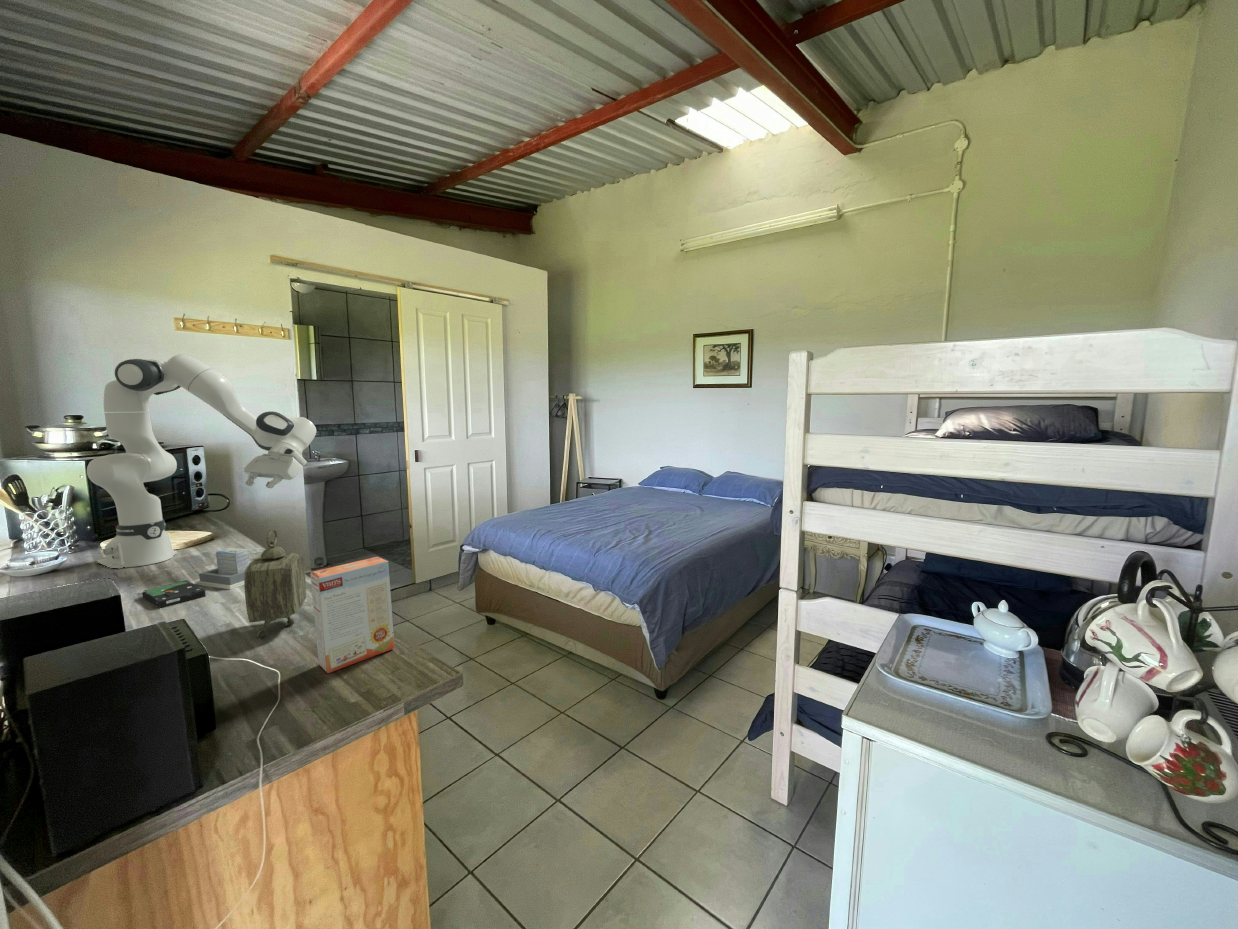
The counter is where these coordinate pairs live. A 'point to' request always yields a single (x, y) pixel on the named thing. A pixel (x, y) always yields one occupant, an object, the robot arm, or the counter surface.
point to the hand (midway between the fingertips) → (257, 486)
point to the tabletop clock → (274, 585)
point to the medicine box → (232, 561)
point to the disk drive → (173, 594)
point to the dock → (220, 579)
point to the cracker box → (352, 612)
